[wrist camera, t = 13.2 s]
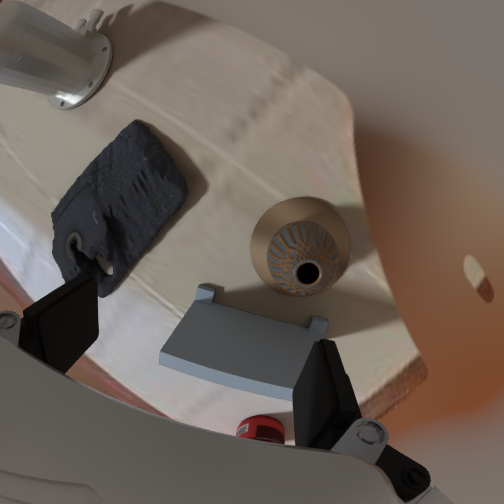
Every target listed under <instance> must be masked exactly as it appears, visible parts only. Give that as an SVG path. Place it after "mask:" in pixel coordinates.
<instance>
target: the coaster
mask: <svg viewBox="0 0 504 504" xmlns="http://www.w3.org/2000/svg"><path fill="white" fill-rule="evenodd" d="M300 220H304V221H311V222H314V223H316V224H319V225H320V226H322V227H323V228H325V229H326V230H327V231H328V232H329V233H330V234H331V235H332V237H333V238H334V240H335V242H336V244H337V248H338V252H339V264H338V268H337V271H336V274H335V276H334V278H333V279H332V281H331V282H330V283H329V284H328V285H327V286H326V287H325V288H323V289H322V290H320V291H318V292H316V293H319V292H321V291H323V290H325V289H327V288H328V287H329V286H331V285H332V284H333V283H334V282H335V281H336V280H337V279H338V278H339V277H340V275H341V274H342V272H343V271H344V269H345V267H346V264H347V262H348V258H349V253H350V241H349V235H348V231H347V229H346V227H345V224H344V223H343V221H342V219H341V218H340V217H339V216H338V214H337V213H336V212H335V211H334V210H332V209H331V208H330V207H328V206H327V205H325V204H323V203H321V202H318V201H316V200H312V199H306V198H294V199H289V200H285V201H282V202H280V203H278V204H276V205H274V206H273V207H271V208H270V209H269V210H268V211H267V212H265V214H264V215H263V216H262V217H261V218H260V220H259V221H258V223H257V225H256V227H255V229H254V231H253V234H252V238H251V246H250V251H251V258H252V262H253V265H254V268H255V270H256V272H257V273H258V275H259V276H260V278H261V279H262V280H263V281H264V282H265V283H266V284H267V285H268V286H269V287H271V288H272V289H274V290H276V291H278V292H280V293H282V294H285V295H290V296H309V295H313V294H316V293H313V294H308V295H299V294H294V293H291V292H288V291H286V290H285V289H283V288H282V287H280V286H279V285H278V284H277V283H276V282H275V280H274V279H273V278H272V276H271V274H270V272H269V269H268V266H267V249H268V246H269V243H270V241H271V239H272V237H273V236H274V234H275V233H276V232H277V231H278V230H279V229H280V228H281V227H283V226H284V225H286V224H288V223H290V222H294V221H300Z"/></svg>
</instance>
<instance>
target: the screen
mask: <svg viewBox="0 0 504 504" xmlns="http://www.w3.org/2000/svg"><path fill="white" fill-rule="evenodd" d="M215 290H216V289H213V288H210V287H206V286H203V285H199V286H198V287H197V292H196V297H195V301H194V302H193V304H192V305H191V307H190V308H189V310H188V311H187V312H186V314H185V315H184V317H183V318H182V320H181V321H180V323H179V324H178V325H177V327H176V328H175V330H174V331H173V333H172V334H171V336H170V337H169V339H168V340H167V342H166V343H165V345H164V346H163V347H162V349H161V350H160V355H159V364H160V365H163V366H165V367H168V368H171V369H174V370H176V371H179V372H182V373H185V374H188V375H191V376H194V377H197V378H201V379H204V380H207V381H210V382H214V383H217V384H221V385H224V386H228V387H231V388H235V389H239V390H243V391H247V392H251V393H255V394H259V395H264V396H268V397H273V398H278V399H283V400H288V401H293V400H292V393H293V389H294V386H295V384H296V382H297V380H298V378H299V376H300V373H301V371H302V369H303V367H304V365H305V362H306V360H307V358H308V355H309V353H310V351H311V348H312V346H313V344H314V342H315V341H318V342H319V340H320V339H325V338H324V334H325V332H326V329H327V327H328V325H329V322H328V320H327V319H323V318H319V317H315V316H312V319H311V321H310V324H309V326H308V328H306V327H302V326H297V325H293V324H290V323H286V322H282V321H278V320H274V319H270V318H267V317H263V316H259V315H255V314H252V313H248V312H245V311H241V310H238V309H234V308H231V307H227V306H224V305H221V304H217V303H214V302H213V298H214V294H215Z"/></svg>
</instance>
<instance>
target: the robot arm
mask: <svg viewBox="0 0 504 504" xmlns="http://www.w3.org/2000/svg"><path fill="white" fill-rule="evenodd" d="M103 13H104V12H103V11H102V10H100V9H94V10H92V12H91V14H90V16H89V18H88V20H87V21H86V20H85V19H80V20H79V21H78V23H77V25H76V28H75V30H74V29H72V28H70V27H69V26H67V25H65V24H64V23H62V22H60V21H58V20H57V19H55V18H53V17H51V16H49V15H47V14H46V13H44V12H42V11H40V10H38V9H36V8H34V7H32V6H30V5H28V4H26V3H24V2H21V1H7V2H3V3H0V84H4V85H9V86H13V87H18V88H22V89H26V90H30V91H34V92H38V93H42V94H46V95H47V98H48V101H49V103H50V104H51V105H52V106H53V107H54V108H57V109H60V110H69V109H73V108H75V107H77V106H79V105H81V104H82V103H84V102H85V101H86V100H87V99H88V98H89V97H90V96H91V95H92V94H93V93H94V92H95V91H96V90H97V88H98V87H99V86H100V84H101V83H102V81H103V80H104V78H105V76H106V74H107V72H108V70H109V67H110V64H111V61H112V54H113V52H112V45H111V42H110V41H109V39H108V38H107V37H105V36H104V35H102V34H100V33H96V31H97V29H96V28H95V27H96V25H97V23H98V22H99V21H100V19H101V17H102V15H103ZM86 22H87V23H86ZM85 24H86V25H85ZM23 316H24V317H23V318H22V319H21V318H20V316H19V315H18V314H17V313H16V312H13V311H2V312H0V504H454V503H453V502H452V501H451V500H449V499H448V498H447V497H446V496H445V495H444V494H443V493H442V492H441V491H440V490H439V489H438V488H437V487H436V486H434V487H433V488H432V487H431V486H430V481H431V480H430V475H429V472H428V471H427V469H426V468H425V467H423V466H422V465H420V464H419V463H417V462H415V461H413V460H412V459H410V458H409V457H407V456H405V455H404V454H402V453H400V452H399V451H397V450H396V449H394V448H392V447H391V446H389V445H388V444H387V442H388V439H389V434H388V431H387V429H386V428H385V427H384V425H383V424H381V423H380V422H379V421H377V420H374V419H371V418H362V416H361V412H360V409H359V406H358V403H357V400H356V397H355V394H354V391H353V388H352V385H351V382H350V379H349V376H348V375H347V374H346V373H345V370H344V367H343V364H342V361H341V358H340V355H339V352H338V349H337V346H336V344H335V341H332V340H326V339H320V340H319V342H318V341H315V342H314V344H313V346H312V348H311V351H310V353H309V355H308V358H307V360H306V362H305V365H304V367H303V369H302V371H301V373H300V376H299V378H298V380H297V382H296V384H295V386H294V389H293V393H292V400H293V414H294V429H295V446H292V445H284V444H277V443H270V442H264V441H258V440H253V439H247V438H242V437H237V436H232V435H227V434H223V433H218V432H214V431H210V430H206V429H202V428H198V427H195V426H191V425H188V424H184V423H181V422H178V421H174V420H171V419H168V418H165V417H162V416H159V415H156V414H153V413H150V412H148V411H145V410H142V409H139V408H137V407H134V406H132V405H129V404H127V403H124V402H122V401H119V400H117V399H115V398H112V397H110V396H108V395H106V394H103V393H101V392H99V391H97V390H94V389H92V388H90V387H88V386H86V385H84V384H82V383H80V382H78V381H76V380H74V379H73V378H71V377H69V376H67V375H65V373H66V372H67V371H68V370H69V369H70V367H71V366H72V365H73V364H74V363H75V362H76V361H77V360H78V359H79V358H80V357H81V356H82V355H83V353H84V352H85V351H86V350H87V349H88V348H89V347H90V346H91V345H92V344H93V343H94V342H95V341H96V340H97V338H98V335H99V324H98V283H97V282H96V281H95V278H94V277H93V276H90V275H87V274H85V273H82V274H80V275H78V276H76V277H75V278H73V279H72V280H70V281H68V282H67V283H65V284H63V285H62V286H60V287H59V288H57V289H55V290H54V291H52V292H51V293H49V294H48V295H46V296H44V297H43V298H41V299H40V300H38V301H37V302H35V303H34V304H32V305H31V306H29V307H28V308H26V309H25V310H23Z"/></svg>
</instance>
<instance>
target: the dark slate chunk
mask: <svg viewBox="0 0 504 504" xmlns="http://www.w3.org/2000/svg"><path fill="white" fill-rule="evenodd" d="M187 195H188V188H187V185H186V182H185V180H184V178H183V176H182V175H181V174H180V172H179V171H178V169H177V167H176V166H175V163H174V160H173V159H172V158H171V156H170V155H169V154H168V153H167V152H166V151H164V148H163V146H162V144H161V142H160V141H159V140H158V139H157V137H156V136H155V135H154V134H151V133H150V129H149V128H148V127H147V126H145V125H144V124H141V123H138V122H136V120H134V121H133V122H131V123H130V124H129V125H128V126H127V127H126V128H124V129H123V130H122V131H121V132H120V133H119V135H118V136H117V137H116V139H115V140H114V141H113V142H111V143H109V145H108V146H107V147H105V148H104V149H103V151H102V152H101V153H100V154H99V155H98V156H97V157H96V158H95V159H94V160H93V161H92V162H91V163H90V164H89V165H88V167H87V168H86V169H85V171H84V172H83V173H82V175H80V176H79V177H78V178H77V180H76V181H75V183H74V184H73V185H72V186H71V187H70V189H69V190H68V191H67V193H66V195H65V196H64V197H63V198H62V199H61V200H60V202H59V204H58V205H57V207H56V208H55V209H54V211H53V212H52V213H51V217H52V222H53V230H54V235H55V237H54V240H53V250H52V254H53V257H54V259H55V261H56V263H57V264H58V266H59V268H60V270H61V273H62V278H63V279H64V280H65V283H67V282H68V281H70V280H72V279H73V278H75V277H76V276H78V275H80V274H82V273H85V274H87V275H90V276H93V277H94V278H95V281H96V282H97V283H98V296H99V297H100V298H104V297H106V296H107V294H109V293H110V292H111V291H112V290H113V288H114V287H115V286H116V284H117V283H118V282H119V281H120V280H121V278H122V277H123V276H124V275H125V274H126V273H127V271H128V269H129V268H130V267H131V266H132V265H133V262H134V261H136V259H137V257H140V255H141V253H142V252H143V251H144V250H145V249H146V248H147V247H148V246H149V245H150V243H151V241H152V240H153V236H155V235H156V234H157V233H158V232H159V231H160V229H161V227H163V226H164V225H165V223H166V222H167V220H168V219H169V218H170V216H172V215H173V214H175V213H176V212H177V211H178V210H179V209H180V208H181V205H182V203H183V202H184V201H185V199H186V197H187ZM97 254H101V257H104V258H105V261H107V262H109V264H110V265H113V275H108V274H106V273H105V272H104V271H103V269H102V268H101V267H100V266H99V264H98V261H97V259H96V258H95V255H97ZM102 255H103V256H102Z"/></svg>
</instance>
